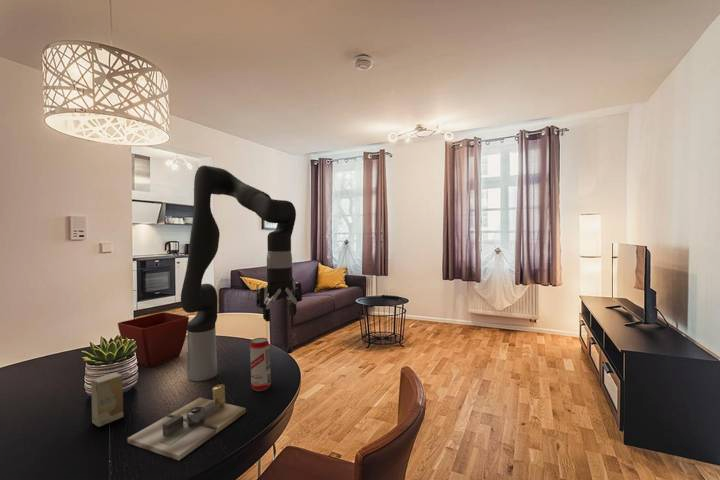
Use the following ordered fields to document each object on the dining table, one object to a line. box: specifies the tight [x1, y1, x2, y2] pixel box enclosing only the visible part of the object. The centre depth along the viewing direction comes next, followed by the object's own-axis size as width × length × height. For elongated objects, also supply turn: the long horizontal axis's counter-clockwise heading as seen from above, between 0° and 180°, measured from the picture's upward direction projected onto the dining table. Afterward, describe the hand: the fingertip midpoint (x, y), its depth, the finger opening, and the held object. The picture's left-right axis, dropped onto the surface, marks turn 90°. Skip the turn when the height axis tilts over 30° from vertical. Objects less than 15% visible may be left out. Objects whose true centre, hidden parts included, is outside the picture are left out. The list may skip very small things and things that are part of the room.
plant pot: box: [117, 312, 190, 368], centre depth 141 cm, size 19×19×17 cm
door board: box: [126, 397, 247, 462], centre depth 92 cm, size 18×22×4 cm
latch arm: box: [187, 383, 226, 425], centre depth 94 cm, size 12×4×6 cm, turn 157°
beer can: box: [249, 337, 272, 392], centre depth 113 cm, size 6×6×16 cm
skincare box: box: [90, 372, 124, 428], centre depth 96 cm, size 6×4×12 cm
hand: (280, 318), depth 105 cm, fingers open, 8 cm apart
